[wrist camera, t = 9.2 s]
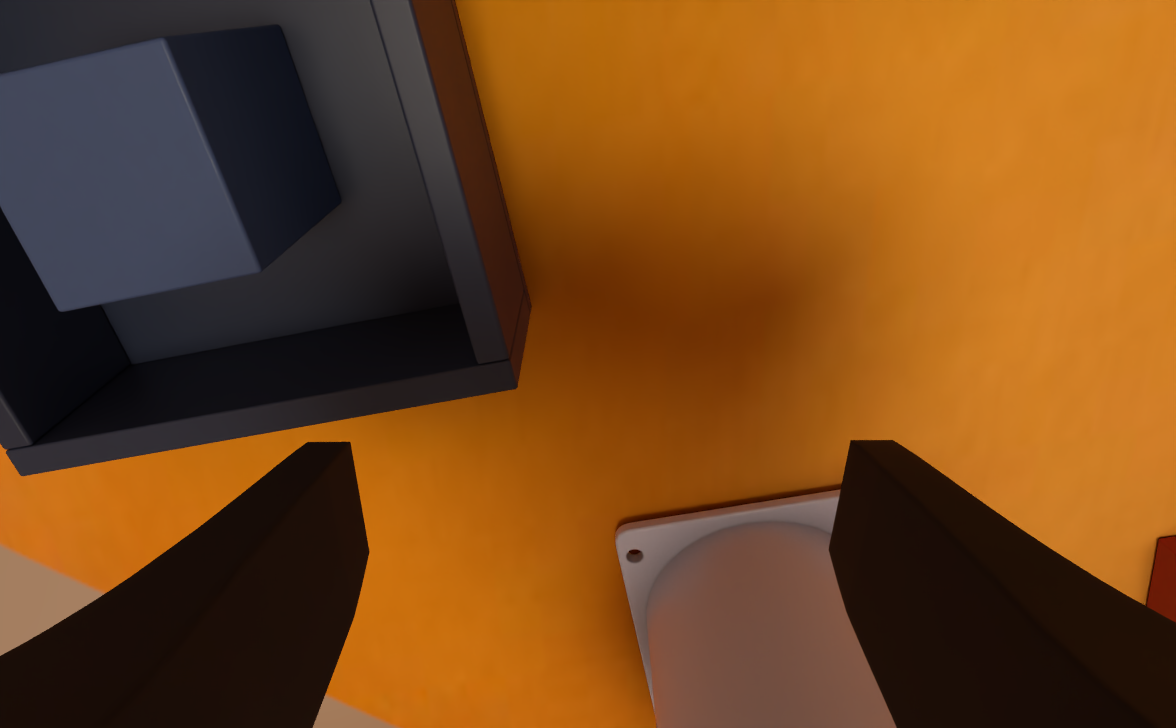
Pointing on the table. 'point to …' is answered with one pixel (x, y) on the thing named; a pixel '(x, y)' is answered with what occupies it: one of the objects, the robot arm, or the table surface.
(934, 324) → the table surface
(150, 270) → the blue block
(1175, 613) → the red block
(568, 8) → the table surface
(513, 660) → the table surface
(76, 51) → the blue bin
